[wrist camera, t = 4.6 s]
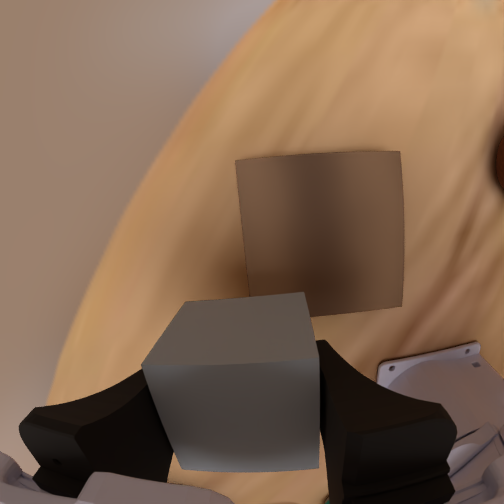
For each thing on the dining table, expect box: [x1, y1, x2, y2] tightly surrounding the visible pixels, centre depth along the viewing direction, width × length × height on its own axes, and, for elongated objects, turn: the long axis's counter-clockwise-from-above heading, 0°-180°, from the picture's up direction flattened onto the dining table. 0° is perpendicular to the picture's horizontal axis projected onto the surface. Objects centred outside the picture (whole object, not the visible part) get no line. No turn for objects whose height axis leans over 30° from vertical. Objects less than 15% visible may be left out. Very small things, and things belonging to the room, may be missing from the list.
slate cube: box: [141, 292, 320, 472], centre depth 11 cm, size 5×5×5 cm
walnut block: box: [235, 151, 404, 317], centre depth 18 cm, size 9×9×3 cm
